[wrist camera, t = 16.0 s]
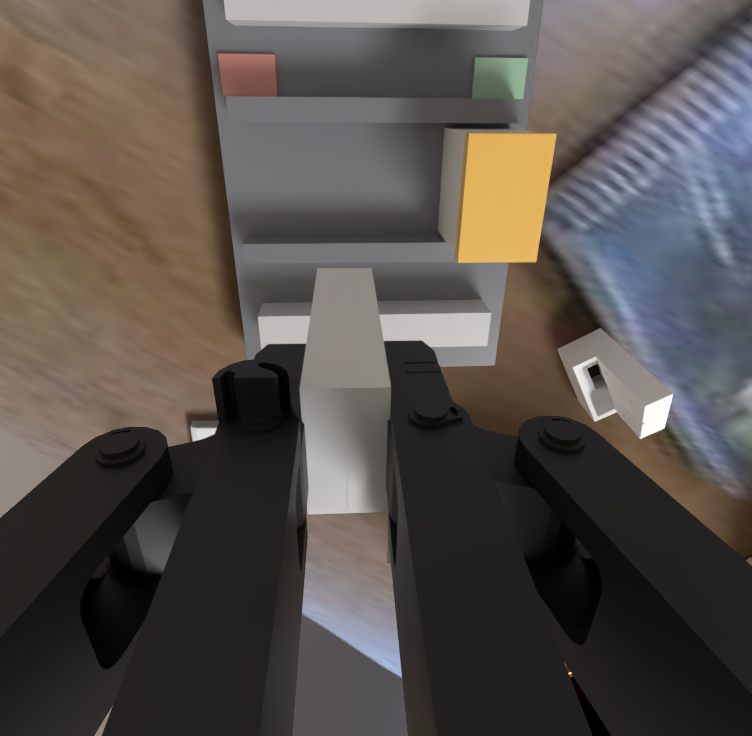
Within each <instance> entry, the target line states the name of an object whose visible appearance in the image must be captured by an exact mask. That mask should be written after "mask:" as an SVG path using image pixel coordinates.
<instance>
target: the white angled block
mask: <svg viewBox="0 0 752 736" xmlns="http://www.w3.org/2000/svg"><path fill="white" fill-rule="evenodd" d="M557 350H558V353H559V355H560V358H561V360H562V362H563V365H564V367H565V370H566V372H567V374H568V377H569V379H570V382H571V384H572V387H573V389H574V391H575V394H576V396H577V399H578V401H579V402H580V404H581V405H582V406H583V408H584V409H585V410H586V411H587V413H588V414H589V415H590V417H591V418H592V419H593V420H594V422H596V421H598V420H600V419H602V418H605V417H607V416H609V415H611V414H614V413H616V412H617V413H618V414H619V415H620V417H621V418H622V419H623V420H624V421H625V422H626V423H627V425H628V426H629V427H630V428H631V429H632V430H633V431H634V433H635V434H636V435H637V436H638V437H639V438H640V439H641V438H644V437H646V436H648V435H650V434H653V433H655V432H657V431H659V430H662V429H664V428H665V424H666V420H667V416H668V413H669V409H670V405H671V401H672V397H673V393H672V392H671V391H670V390H669V389H668V388H667V387H666V386H664V385H663V384H662V383H661V382H660V381H659V380H658V379H657V378H655V377H654V376H653V375H652V374H651V373H650V372H649V371H648V370H647V369H645V368H644V367H643V366H642V365H641V364H640V363H639V362H638V361H636V360H635V359H634V358H633V357H632V356H631V355H630V354H629V353H628V352H626V351H625V350H624V349H623V348H622V347H621V346H620V345H619V344H618V343H616V342H615V341H614V340H613V339H612V338H611V337H610V336H609V335H607V334H606V333H605V332H604V331H603V330H602V329H601V328H600V329H597V330H595V331H593V332H591V333H589V334H587V335H585V336H583V337H581V338H579V339H577V340H575V341H573V342H571V343H569V344H567V345H564V346H562V347H560V348H558V349H557ZM596 364H597V366H598V369H599V371H600V374H599V375H597V376H595V377H593V378H591V377H590V375H589V372H588V368H590V367H592V366H594V365H596Z"/></svg>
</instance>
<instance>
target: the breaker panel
mask: <svg viewBox="0 0 752 736" xmlns="http://www.w3.org/2000/svg"><path fill="white" fill-rule="evenodd" d="M543 2H544V0H203V7H204V15H205V23H206V32H207V40H208V48H209V56H210V64H211V72H212V80H213V88H214V96H215V104H216V113H217V121H218V129H219V137H220V145H221V153H222V161H223V169H224V177H225V185H226V194H227V202H228V210H229V218H230V226H231V234H232V242H233V250H234V258H235V266H236V275H237V283H238V291H239V299H240V307H241V315H242V323H243V331H244V339H245V347H246V356H247V360H253V359H254V357H255V355H256V354H257V353H258V352H259V351H260V350H262V349H263V348H264V347H265V346H266V345H268V344H306V342H307V335H308V328H309V322H310V315H311V308H312V302H313V295H314V288H315V281H316V275H317V268H372V273H373V279H374V285H375V291H376V297H377V303H378V310H379V316H380V322H381V328H382V334H383V340H384V341H420V340H422V341H423V342H424V343H426V344H427V345H428V346H429V347H431V348H432V349H433V350H434V351H435V354H436V357H437V360H438V364H439V366H440V367H453V366H495V359H496V352H497V344H498V337H499V329H500V322H501V315H502V307H503V300H504V292H505V285H506V277H507V270H508V262H494V263H458V262H457V261H456V259H455V253H454V252H453V251H452V249H451V248H450V247H449V245H448V244H447V242H446V241H445V240H444V238H443V237H442V236H441V234H440V233H439V231H438V218H439V203H440V187H441V172H442V157H443V142H444V127H512V128H517V129H522V130H526V128H527V121H528V114H529V106H530V99H531V91H532V84H533V76H534V69H535V62H536V54H537V47H538V39H539V32H540V24H541V17H542V9H543Z"/></svg>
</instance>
